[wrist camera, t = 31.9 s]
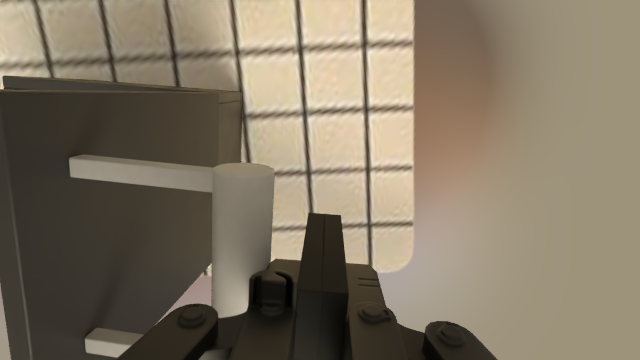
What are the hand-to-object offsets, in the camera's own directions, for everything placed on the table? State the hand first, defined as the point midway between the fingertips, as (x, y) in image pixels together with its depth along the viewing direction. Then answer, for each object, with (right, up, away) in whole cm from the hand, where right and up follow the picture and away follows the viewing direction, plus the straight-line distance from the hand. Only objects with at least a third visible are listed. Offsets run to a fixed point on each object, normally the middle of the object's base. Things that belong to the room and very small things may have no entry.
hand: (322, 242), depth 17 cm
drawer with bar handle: (-9, +1, +2) cm, 9 cm away
